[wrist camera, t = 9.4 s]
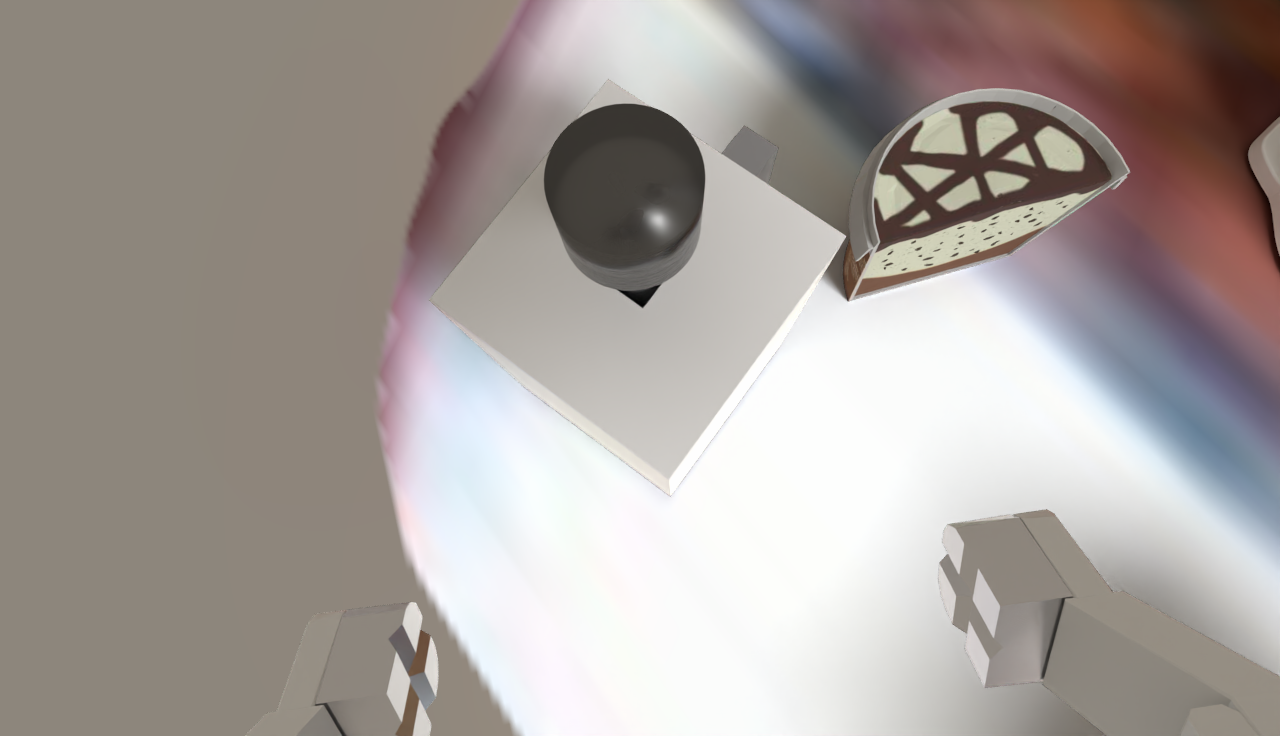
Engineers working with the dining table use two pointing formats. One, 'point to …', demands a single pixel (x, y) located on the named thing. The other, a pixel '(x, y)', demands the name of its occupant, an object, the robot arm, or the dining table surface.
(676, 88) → the dining table surface
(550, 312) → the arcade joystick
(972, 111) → the food container
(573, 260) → the plunger
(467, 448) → the dining table surface
